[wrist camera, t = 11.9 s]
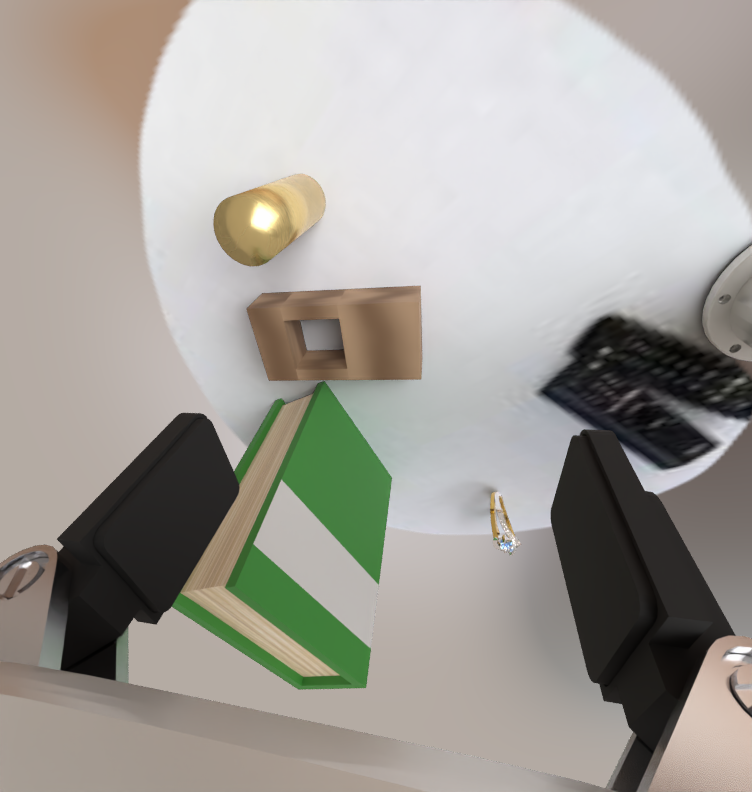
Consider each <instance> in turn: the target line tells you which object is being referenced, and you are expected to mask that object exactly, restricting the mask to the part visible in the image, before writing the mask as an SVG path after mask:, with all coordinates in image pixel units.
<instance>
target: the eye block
mask: <svg viewBox="0 0 752 792" xmlns="http://www.w3.org/2000/svg"><path fill="white" fill-rule="evenodd" d="M247 313H248V316H249V319H250V322H251V325H252V328H253V332H254V335H255V338H256V341H257V344H258V348H259V351H260V354H261V357H262V360H263V364H264V367H265V370H266V373H267V376H268V379H269V381H277V380H409V379H421V373H422V326H421V286H405V287H384V288H364V289H343V290H322V291H301V292H280V293H262V294H261V295H260V296H259V297H258V298H257V299H256V300H255V301H254V302H253V303H252V304H251V305H250V306H249V307H248V308H247ZM317 319H339V321H340V327H341V333H342V339H343V346H344V350H316V351H307V349H306V345H305V341H304V336H303V332H302V328H301V323H300V320H317Z"/></svg>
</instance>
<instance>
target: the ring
mask: <svg viewBox="0 0 752 792" xmlns="http://www.w3.org/2000/svg"><path fill="white" fill-rule="evenodd" d="M496 510H497V514H498V517H499V520H500V523H501V525H502V527H503V529H504V531H505V534H506V536H505V535H500V533H499V530H498V527H497V522H496ZM490 513H491V526H492V532H493V537H494V540H493V545H494V547H495V548H496V549H498V550H501V551H504V553H507V550H508V553H510V555H513V554H514V551H516V550H515V547H516V548H517V547H518V546H520V545H521V543H520V542H519V540H518V539H517V538H516V537H515V535H514V532H513V530H512V527H511V524H510V521H509V518H508V515H507V512H506V509H505V506H504V503H503V498H502V495H501V494H500V492H492V494H491V503H490ZM499 539H500V543H501V544H500V543H499V542H498V540H499Z"/></svg>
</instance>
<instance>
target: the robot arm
mask: <svg viewBox="0 0 752 792" xmlns="http://www.w3.org/2000/svg"><path fill="white" fill-rule="evenodd" d="M702 324H703V328H704V332H705V335H706V336H707V338H708V339H709V341H710V343H712V344H713V345H714V346H715V347H716V348H717V349H718V350H720V351H721V352H723V353H724V354H725V355H727V356H729V357H732V358H735V359H738V360H742V361H750V362H752V245H751V246H750V247H748V248H747V249H746V250H745V251H744V252H742V253H741V254H740V255H739V256H738V257H736V258H735V259H734V260H733V262H732V263H731V264H730V265H729V266H728V267H727V268H726V269H725V270H724V271H723V272H722V274H721V275H720V276H719V278H718V279H717V281H716V282H715V283H714V285H713V287H712V289H711V291H710V293H709V295H708V297H707V299H706V302H705V305H704V309H703V318H702ZM239 489H240V487H239V482H238V480H237V478H236V475H235V473H234V471H233V469H232V467H231V464H230V462H229V460H228V458H227V455H226V453H225V451H224V449H223V446H222V444H221V442H220V440H219V437H218V435H217V433H216V431H215V428H214V426H213V424H212V422H211V421H210V420H209V419H207V417H206V416H205V415H204V414H200V413H198V414H197V413H181V414H179V415H178V416H177V417H176V418H175V419H174V420H173V421H172V422H171V423H170V424H169V425H168V426H167V427H166V428H165V429H164V430H163V431H162V432H161V433H160V434H159V435H158V436H157V437H156V438H155V439H154V440H153V441H152V442H151V443H150V444H149V445H148V446H147V447H146V448H145V449H144V450H143V451H142V452H141V453H140V454H139V455H138V456H137V457H136V459H135V460H134V461H133V462H132V463H131V464H130V465H129V466H128V467H127V468H126V469H125V470H124V471H123V472H122V473H121V474H120V475H119V476H118V477H117V478H116V479H115V480H114V481H113V482H112V483H111V484H110V485H109V486H108V487H107V488H106V489H105V490H104V491H103V492H102V493H101V494H100V495H99V496H98V497H97V498H96V499H95V500H94V501H93V503H92V504H91V505H90V506H89V507H88V508H87V509H86V510H85V511H84V512H83V513H82V514H81V515H80V516H79V517H78V518H77V519H76V520H75V521H74V522H73V523H72V524H71V525H70V526H69V527H68V528H67V529H66V530H65V531H64V532H63V533H62V534H61V535H60V536H59V537H58V538H57V540H58V541H59V542H60V543H61V544H62V545H63V546H64V547H63V548H62V549H61V550H60V551H59V552H58V551H57V550H56V549H55V548H54V547H52V546H48V545H37V546H33V547H30V548H27V549H24V550H22V551H20V552H18V553H16V554H14V555H12V556H10V557H9V558H7V559H6V560H4V561H3V562H1V563H0V792H752V638H749V637H745V636H736V635H735V634H734V632H733V630H732V628H731V626H730V625H729V623H728V621H727V619H726V617H725V616H724V614H723V612H722V610H721V609H720V607H719V605H718V603H717V601H716V599H715V598H714V596H713V594H712V592H711V590H710V589H709V587H708V585H707V584H706V581H705V580H704V578H703V576H702V574H701V572H700V571H699V569H698V567H697V565H696V563H695V561H694V560H693V558H692V556H691V554H690V552H689V551H688V549H687V547H686V545H685V544H684V542H683V540H682V538H681V536H680V534H679V533H678V531H677V529H676V527H675V525H674V524H673V522H672V520H671V518H670V517H669V515H668V513H667V511H666V509H665V507H664V505H663V504H662V502H661V501H660V499H659V498H658V497H657V496H656V495H655V494H654V493H652V492H647V491H644V489H643V487H642V485H641V483H640V481H639V479H638V477H637V475H636V473H635V471H634V470H633V468H632V466H631V464H630V462H629V460H628V458H627V456H626V454H625V452H624V450H623V449H622V447H621V445H620V443H619V441H618V439H617V437H616V435H615V434H614V432H612V431H608V430H582V432H581V433H580V436H577V435H574V436H573V437H572V438H571V441H570V445H569V448H568V452H567V455H566V459H565V462H564V466H563V469H562V473H561V476H560V480H559V483H558V487H557V490H556V494H555V497H554V501H553V504H552V508H551V524H552V528H553V532H554V536H555V540H556V545H557V549H558V553H559V557H560V561H561V565H562V569H563V573H564V578H565V581H566V586H567V590H568V594H569V598H570V602H571V606H572V610H573V614H574V618H575V622H576V626H577V631H578V635H579V639H580V643H581V647H582V651H583V656H584V659H585V663H586V668H587V672H588V675H589V677H590V679H591V681H592V682H594V683H598V684H600V688H601V692H602V696H603V700H604V701H607V702H613V703H619V704H622V705H623V709H624V712H625V715H626V719H627V722H628V725H629V728H631V730H632V731H633V733H632V735H631V737H630V739H629V741H628V743H627V745H626V747H625V749H624V752H623V753H622V755H621V758H620V759H619V762H618V764H617V766H616V768H615V770H614V772H613V774H612V776H611V778H610V780H609V782H608V784H607V786H606V788H602V787H599V786H595V785H592V784H588V783H585V782H581V781H577V780H573V779H569V778H564V777H560V776H556V775H552V774H547V773H543V772H538V771H535V770H530V769H526V768H522V767H517V766H513V765H509V764H505V763H501V762H496V761H492V760H488V759H484V758H479V757H475V756H470V755H465V754H460V753H456V752H451V751H447V750H442V749H437V748H433V747H428V746H423V745H419V744H414V743H409V742H404V741H400V740H396V739H391V738H386V737H382V736H377V735H372V734H368V733H363V732H358V731H353V730H349V729H344V728H339V727H335V726H330V725H325V724H321V723H316V722H311V721H306V720H302V719H297V718H292V717H287V716H283V715H278V714H273V713H268V712H264V711H259V710H254V709H249V708H245V707H240V706H235V705H230V704H225V703H220V702H216V701H211V700H206V699H202V698H197V697H191V696H187V695H182V694H177V693H172V692H168V691H163V690H158V689H153V688H148V687H143V686H138V685H133V684H128V626H129V624H130V623H131V621H132V620H133V618H135V619H136V620H137V621H139V622H144V623H150V624H157V623H158V621H159V619H160V618H161V616H162V614H163V613H164V612H166V611H167V610H169V609H170V608H171V606H172V605H173V604H174V602H175V600H176V599H177V597H178V595H179V594H180V592H181V590H182V588H183V587H184V585H185V583H186V582H187V580H188V578H189V577H190V575H191V573H192V572H193V570H194V568H195V567H196V565H197V563H198V562H199V560H200V558H201V557H202V555H203V553H204V552H205V550H206V548H207V547H208V545H209V543H210V542H211V540H212V538H213V537H214V535H215V533H216V532H217V530H218V528H219V526H220V525H221V523H222V521H223V520H224V518H225V516H226V515H227V513H228V511H229V510H230V508H231V506H232V505H233V503H234V501H235V500H236V498H237V496H238V494H239Z"/></svg>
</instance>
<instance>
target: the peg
mask: <svg viewBox="0 0 752 792" xmlns="http://www.w3.org/2000/svg"><path fill="white" fill-rule="evenodd" d="M324 211H325V196H324V193H323V190H322V188H321V187H320V185H319V184H318V183H317V182H316V181H315V180H314V179H313V178H311V177H310V176H308V175H304V174H295V175H292V176H289V177H287V178H284V179H281V180H278V181H275V182H272V183H269V184H266V185H263V186H260V187H257V188H254V189H252V190H249V191H246V192H243V193H240V194H237V195H234V196H231V197H228V198H226V199H225V200H223V201H222V202H221V203H220V204H219V205H218V207H217V209H216V211H215V214H214V231H215V235H216V237H217V240H218V242H219V244H220V246H221V247H222V249H223V250H224V251H225V252H226V253H227V254H228V255H229V256H230V257H231V258H232V259H234V260H235V261H237V262H239V263H241V264H243V265H247V266H260V265H263V264H265V263H267V262H268V261H269V260H271V259H272V258H273V257H274V256H276V255H277V254H278V253H279V252H281V251H282V250H283V249H284V248H286V247H287V246H288V245H289V244H291V243H292V242H293V241H294V240H295V239H297V238H298V237H299V236H300V235H302V234H303V233H304V232H305V231H307V230H308V229H309V228H310V227H312V226H313V225H314V224H315V223H317V222H318V221H319V220H320V219H321V217H322V216H323V214H324Z"/></svg>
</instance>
